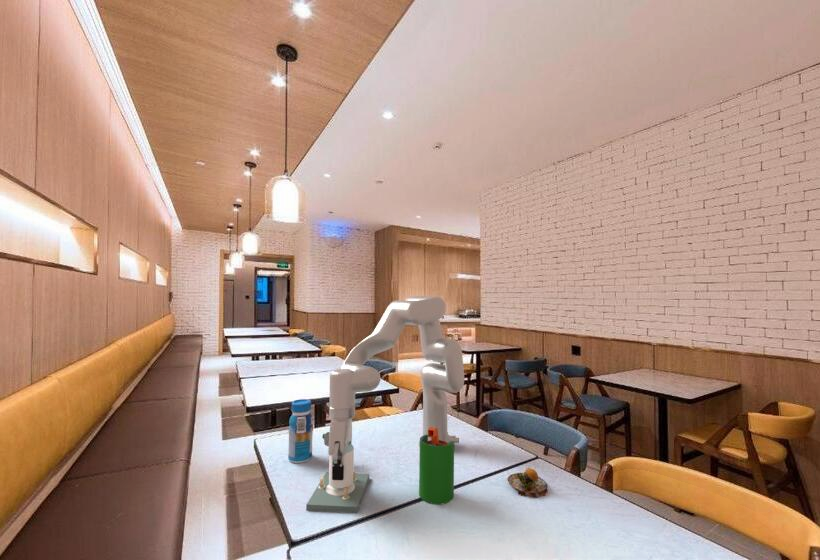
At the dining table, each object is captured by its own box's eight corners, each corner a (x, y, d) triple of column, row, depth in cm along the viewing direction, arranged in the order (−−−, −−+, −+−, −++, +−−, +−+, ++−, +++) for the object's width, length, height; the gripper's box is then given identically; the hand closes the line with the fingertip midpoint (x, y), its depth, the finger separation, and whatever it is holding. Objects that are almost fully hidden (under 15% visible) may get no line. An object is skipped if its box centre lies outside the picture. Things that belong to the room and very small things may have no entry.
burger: (519, 474, 118) (519, 451, 118) (554, 488, 109) (554, 463, 110) (499, 487, 109) (499, 462, 110) (536, 503, 101) (536, 476, 101)
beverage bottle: (282, 461, 125) (283, 403, 126) (298, 451, 133) (299, 397, 134) (302, 465, 122) (303, 406, 123) (317, 455, 129) (318, 399, 130)
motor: (456, 491, 107) (456, 422, 108) (449, 507, 98) (449, 433, 99) (423, 484, 110) (424, 418, 111) (414, 500, 101) (415, 428, 102)
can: (341, 493, 100) (342, 449, 101) (323, 486, 104) (324, 444, 105) (358, 482, 106) (358, 441, 107) (340, 475, 110) (341, 436, 111)
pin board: (369, 478, 113) (369, 465, 114) (357, 512, 95) (357, 497, 96) (326, 476, 114) (326, 464, 114) (306, 510, 96) (306, 495, 97)
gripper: (337, 402, 115) (336, 459, 114) (320, 421, 98) (319, 488, 97) (360, 403, 114) (359, 459, 114) (347, 422, 97) (346, 489, 96)
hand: (341, 472), depth 105 cm, fingers closed on can, 7 cm apart
